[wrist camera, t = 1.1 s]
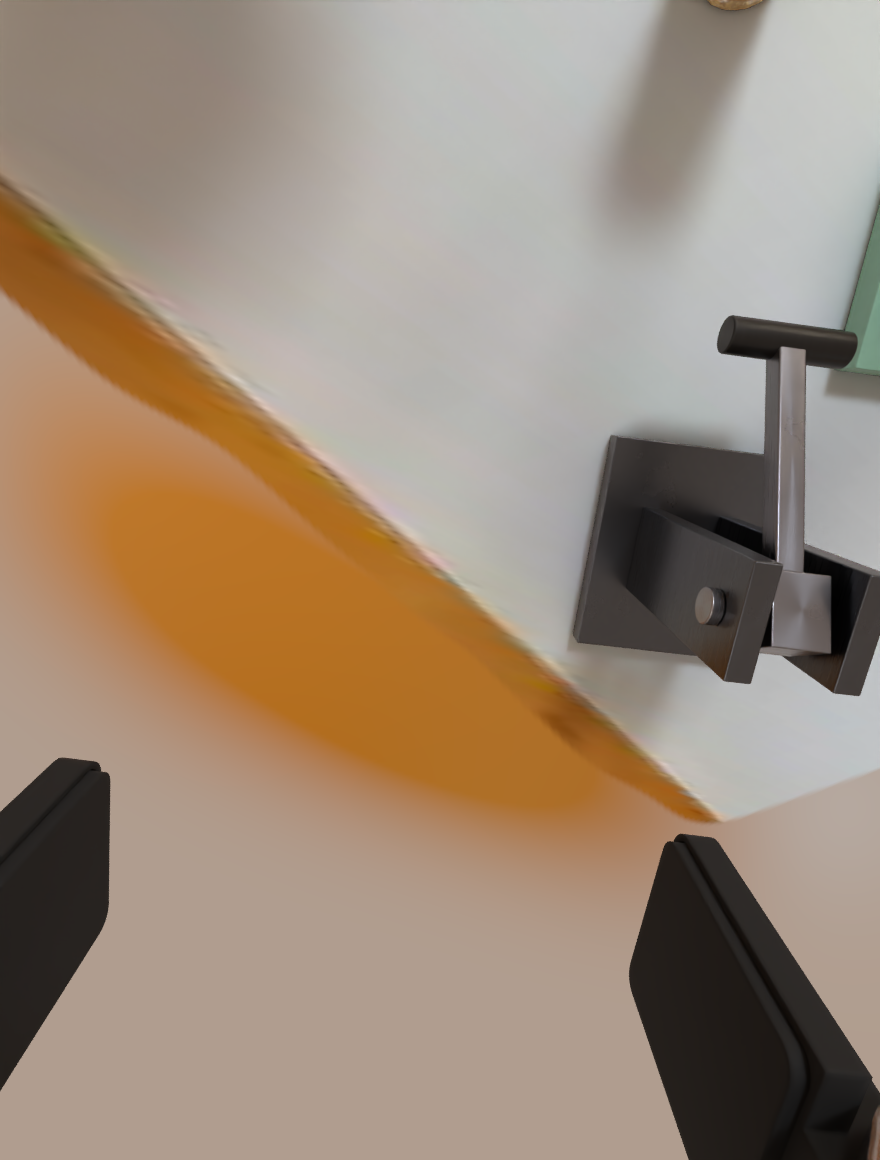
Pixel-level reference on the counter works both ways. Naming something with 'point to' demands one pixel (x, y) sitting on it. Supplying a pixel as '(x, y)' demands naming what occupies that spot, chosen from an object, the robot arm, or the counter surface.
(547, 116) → the counter surface
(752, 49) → the counter surface
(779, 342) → the lever handle
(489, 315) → the counter surface
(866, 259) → the control block
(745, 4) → the sprinkles bottle
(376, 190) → the counter surface
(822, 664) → the lever bracket
